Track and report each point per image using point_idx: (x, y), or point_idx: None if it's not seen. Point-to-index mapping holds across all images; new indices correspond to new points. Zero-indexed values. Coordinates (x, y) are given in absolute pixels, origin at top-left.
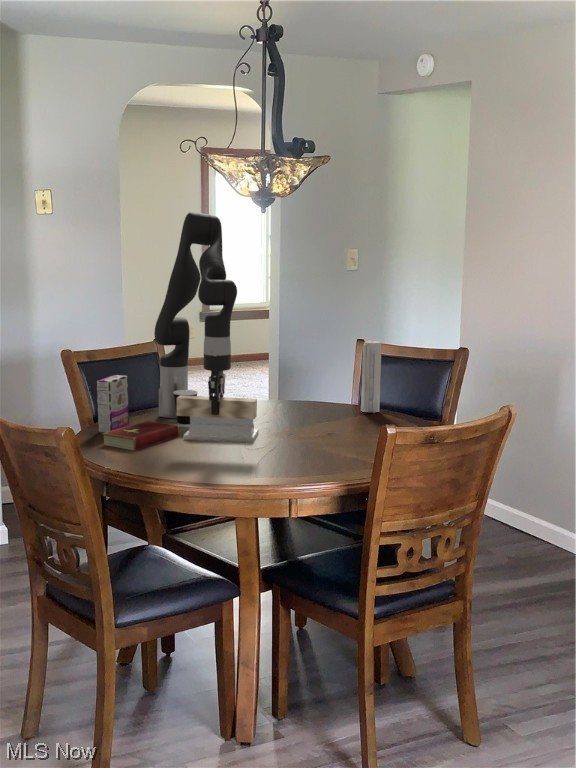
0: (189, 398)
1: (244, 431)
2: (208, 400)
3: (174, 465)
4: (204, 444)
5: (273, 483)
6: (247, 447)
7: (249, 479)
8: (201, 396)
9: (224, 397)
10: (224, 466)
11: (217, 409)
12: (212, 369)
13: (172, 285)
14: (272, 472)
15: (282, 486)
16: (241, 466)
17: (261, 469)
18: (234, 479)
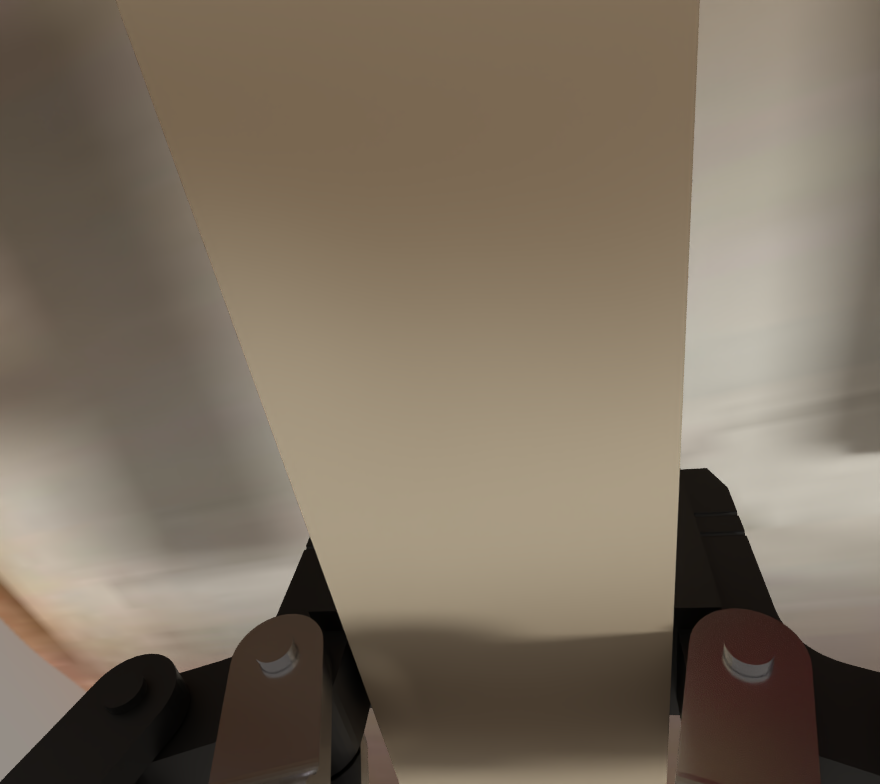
0: (186, 101)
1: None
2: (335, 571)
3: (15, 75)
4: (815, 50)
5: (81, 645)
6: (732, 439)
7: (67, 565)
8: (652, 365)
9: (655, 772)
10: (198, 416)
11: None
12: None
13: None
14: (226, 627)
15: (68, 672)
16: (248, 496)
17: (247, 584)
18: (21, 511)
